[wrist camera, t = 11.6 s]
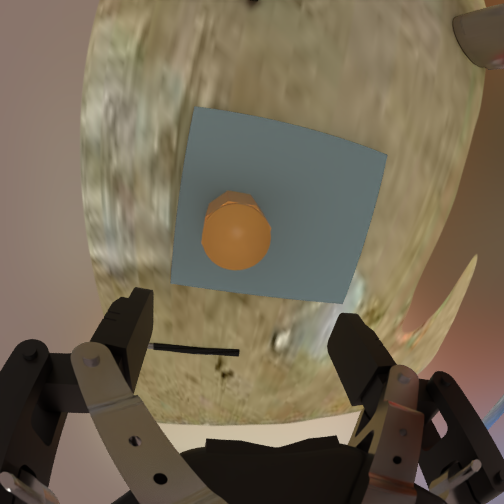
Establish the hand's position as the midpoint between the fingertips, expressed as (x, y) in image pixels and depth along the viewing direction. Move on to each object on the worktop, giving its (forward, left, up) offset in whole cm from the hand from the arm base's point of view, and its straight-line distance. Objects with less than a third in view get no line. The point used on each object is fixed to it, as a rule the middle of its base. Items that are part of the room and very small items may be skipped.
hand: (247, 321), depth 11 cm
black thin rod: (+3, +18, -18) cm, 26 cm away
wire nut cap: (0, 0, -16) cm, 16 cm away
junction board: (-4, -1, -18) cm, 18 cm away
